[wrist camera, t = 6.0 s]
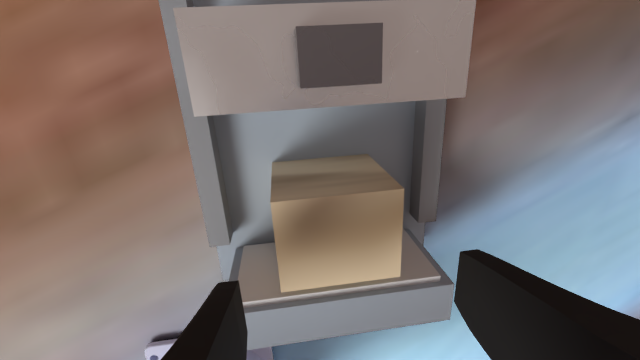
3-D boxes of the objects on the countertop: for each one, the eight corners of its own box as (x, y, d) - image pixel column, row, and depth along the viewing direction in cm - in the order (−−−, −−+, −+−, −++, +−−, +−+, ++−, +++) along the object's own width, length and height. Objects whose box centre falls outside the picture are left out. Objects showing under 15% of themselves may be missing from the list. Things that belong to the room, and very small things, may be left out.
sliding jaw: (409, 88, 15) (484, 100, 10) (220, 100, 14) (185, 122, 9) (412, 19, 14) (498, -11, 9) (208, 28, 13) (160, 0, 8)
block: (367, 221, 18) (400, 276, 13) (279, 231, 17) (281, 292, 12) (367, 153, 16) (404, 188, 12) (272, 162, 16) (270, 202, 11)
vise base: (412, 242, 20) (470, 316, 14) (227, 265, 19) (204, 356, 13) (428, -23, 15) (531, -82, 9) (174, -15, 14) (94, -80, 8)
